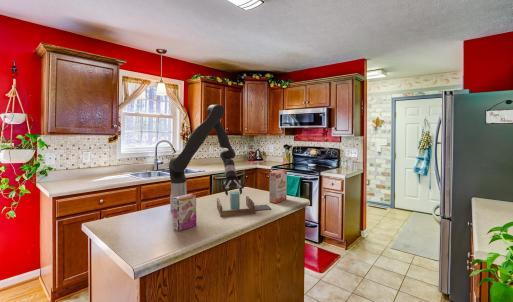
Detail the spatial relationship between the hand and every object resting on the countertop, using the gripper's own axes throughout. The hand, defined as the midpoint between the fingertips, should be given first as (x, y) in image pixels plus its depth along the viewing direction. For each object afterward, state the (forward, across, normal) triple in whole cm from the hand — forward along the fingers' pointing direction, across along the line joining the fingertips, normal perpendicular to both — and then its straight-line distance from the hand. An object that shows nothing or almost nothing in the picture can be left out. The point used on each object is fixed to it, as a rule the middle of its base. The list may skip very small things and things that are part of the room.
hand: (234, 194), depth 168 cm
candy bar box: (+25, -30, -12) cm, 41 cm away
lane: (+9, 0, +4) cm, 10 cm away
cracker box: (0, +33, +14) cm, 35 cm away
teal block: (+9, 0, +4) cm, 10 cm away
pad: (+9, +17, +4) cm, 19 cm away
